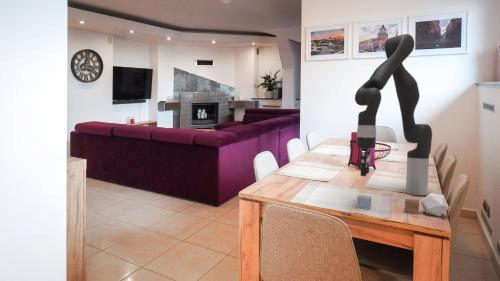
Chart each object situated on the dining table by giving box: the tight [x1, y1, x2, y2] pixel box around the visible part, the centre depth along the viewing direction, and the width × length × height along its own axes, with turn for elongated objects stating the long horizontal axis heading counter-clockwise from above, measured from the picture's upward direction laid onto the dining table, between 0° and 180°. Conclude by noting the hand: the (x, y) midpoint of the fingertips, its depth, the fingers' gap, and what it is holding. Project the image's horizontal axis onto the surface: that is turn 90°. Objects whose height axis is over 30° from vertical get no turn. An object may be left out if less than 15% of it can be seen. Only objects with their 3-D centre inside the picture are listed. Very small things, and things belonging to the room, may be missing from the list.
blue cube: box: [356, 194, 372, 211], centre depth 135 cm, size 5×5×5 cm
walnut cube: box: [404, 198, 420, 215], centre depth 130 cm, size 5×5×5 cm
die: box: [420, 192, 450, 217], centre depth 127 cm, size 8×9×10 cm
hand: (364, 174), depth 135 cm, fingers open, 8 cm apart
